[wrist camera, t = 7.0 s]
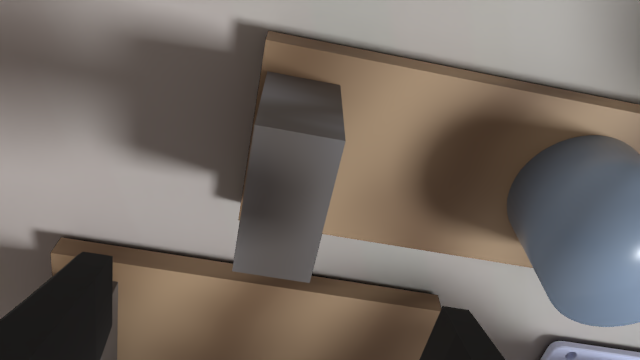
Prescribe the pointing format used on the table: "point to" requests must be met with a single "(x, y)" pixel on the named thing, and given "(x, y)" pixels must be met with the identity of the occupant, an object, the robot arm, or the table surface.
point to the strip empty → (250, 312)
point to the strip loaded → (395, 154)
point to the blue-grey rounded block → (583, 227)
